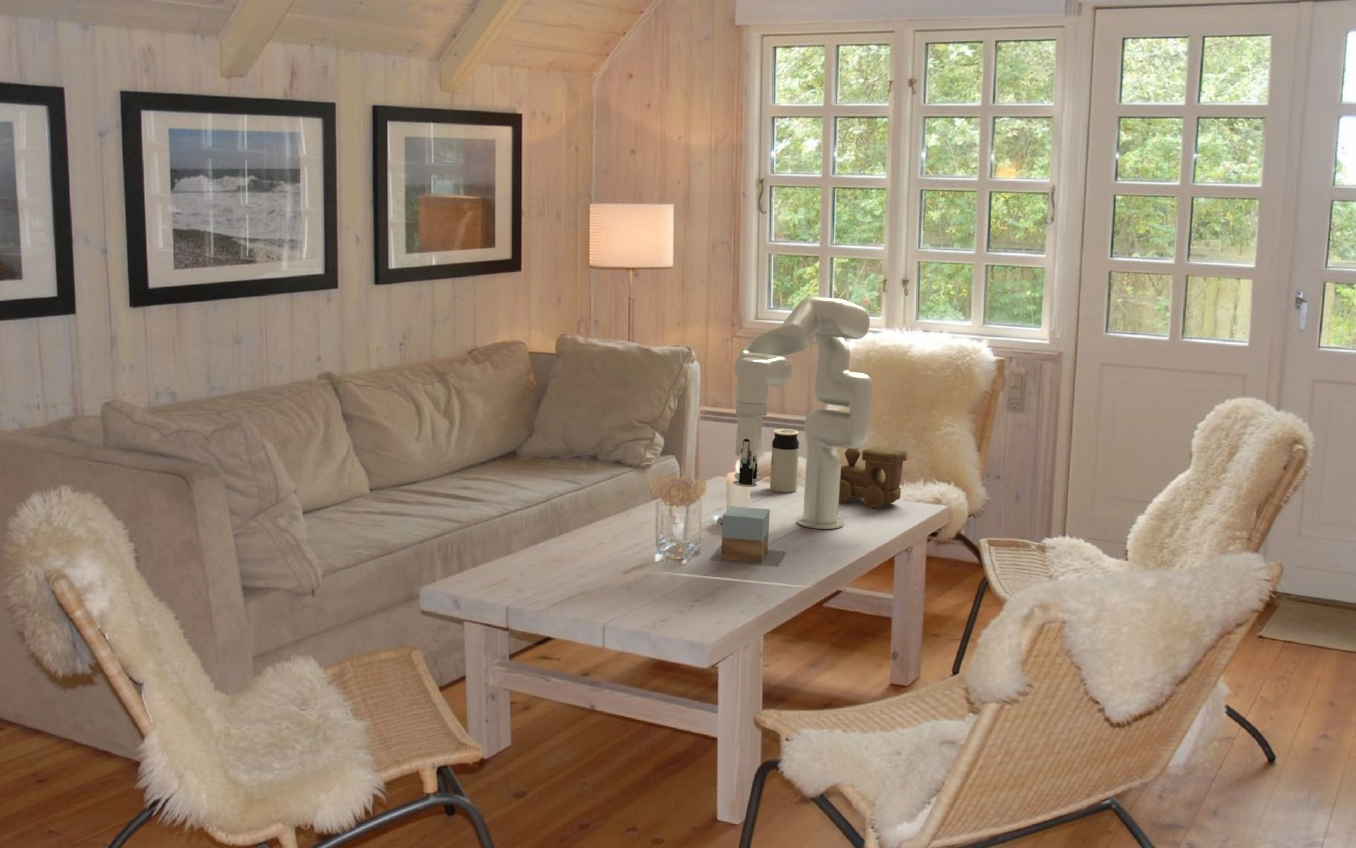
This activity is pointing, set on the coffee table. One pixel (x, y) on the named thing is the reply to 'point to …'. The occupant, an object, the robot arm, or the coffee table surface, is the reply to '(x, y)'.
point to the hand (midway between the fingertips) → (747, 480)
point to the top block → (745, 523)
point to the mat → (769, 560)
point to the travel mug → (784, 461)
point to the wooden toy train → (872, 476)
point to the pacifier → (746, 484)
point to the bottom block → (744, 549)
